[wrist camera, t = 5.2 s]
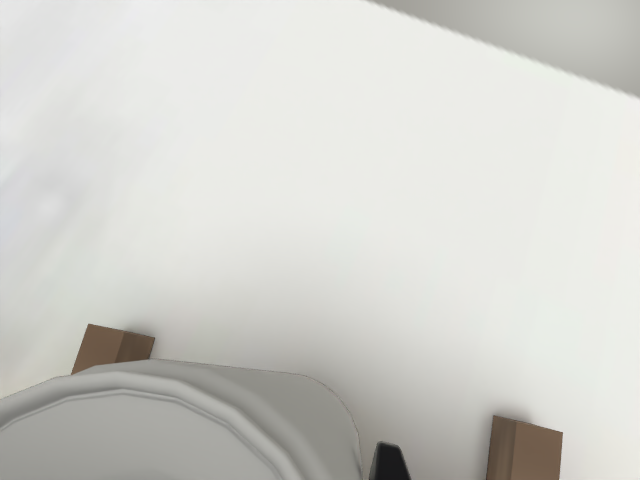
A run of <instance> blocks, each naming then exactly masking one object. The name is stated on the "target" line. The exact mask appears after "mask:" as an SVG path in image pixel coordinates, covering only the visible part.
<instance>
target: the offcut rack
mask: <svg viewBox="0 0 640 480" xmlns="http://www.w3.org/2000/svg"><path fill="white" fill-rule="evenodd" d="M154 339H155V338H153V337H149V336H145V335H140V334H136V333H131V332H127V331H123V330H118V329H112V328H107V327H102V326H97V325H92V324H88V326H87V329H86V332H85V335H84V338H83V341H82V344H81V347H80V350H79V352H78V355H77V358H76V361H75V364H74V367H73V370H72V373H71V375H73V374H75V373H78V372H80V371H83V370H85V369H88V368H90V367H93V366H96V365H105V364H113V363H122V362H131V361H140V360H148V359H149V355H150V352H151V349H152V346H153V342H154ZM562 436H563V432H559V431H555V430H552V429H548V428H544V427H541V426H537V425H533V424H529V423H525V422H520V421H516V420H511V419H507V418H503V417H498V416H493V424H492V433H491V442H490V450H489V459H488V468H487V477H486V480H559V475H560V462H561V449H562Z"/></svg>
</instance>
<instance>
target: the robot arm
mask: <svg viewBox="0 0 640 480" xmlns="http://www.w3.org/2000/svg"><path fill="white" fill-rule="evenodd" d="M369 480H411V477H410V474H409V471H408V468H407V465H406V463H405V460H404V457H403V454H402V451H401V449H400V447H399V446H398V445H395V444H391V443H387V442H383V441H380V442H378V443H377V446H376V450H375V454H374V458H373V462H372V466H371V471H370V476H369Z"/></svg>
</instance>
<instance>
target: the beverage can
mask: <svg viewBox="0 0 640 480" xmlns="http://www.w3.org/2000/svg"><path fill="white" fill-rule="evenodd" d="M0 480H363V473H362V461H361V452H360V443H359V435H358V432H357V429H356V427H355V424H354V422H353V419H352V416H351V414H350V413H349V411H348V410H347V408H346V407H345V405H344V404H343V403H342V401H341V400H340V398H339V397H338V396H337V395H335V394H334V393H333V392H332V391H331V390H330V389H328V388H327V387H326V386H325V385H324V384H322V383H319V382H317V381H315V380H313V379H311V378H309V377H307V376H303V375H296V374H290V373H283V372H274V371H264V370H255V369H246V368H237V367H228V366H218V365H209V364H200V363H191V362H181V361H172V360H163V359H149V360H140V361H131V362H122V363H113V364H105V365H96V366H93V367H90V368H88V369H85V370H83V371H80V372H78V373H75V374H73V375H68V376H59V377H55V378H53V379H50V380H47V381H45V382H42V383H40V384H37V385H35V386H32V387H30V388H27V389H25V390H22V391H20V392H17V393H15V394H12V395H10V396H7V397H4V398H2V399H0Z"/></svg>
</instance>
